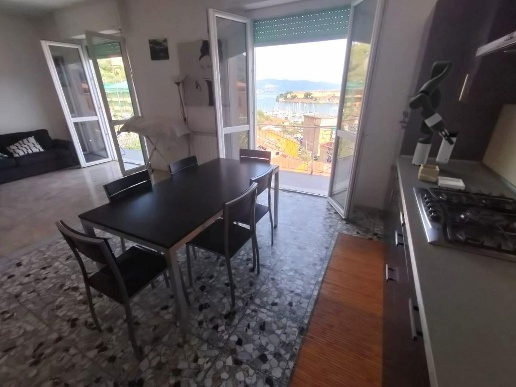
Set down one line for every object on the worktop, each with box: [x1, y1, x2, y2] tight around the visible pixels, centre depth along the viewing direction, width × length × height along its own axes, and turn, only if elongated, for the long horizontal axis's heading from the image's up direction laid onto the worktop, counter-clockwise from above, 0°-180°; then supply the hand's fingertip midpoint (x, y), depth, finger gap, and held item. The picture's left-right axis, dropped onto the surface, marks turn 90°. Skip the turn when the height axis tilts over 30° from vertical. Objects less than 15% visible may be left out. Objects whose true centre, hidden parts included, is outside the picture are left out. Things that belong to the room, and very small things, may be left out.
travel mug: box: [435, 130, 460, 165], centre depth 146 cm, size 6×7×20 cm
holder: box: [417, 164, 440, 183], centre depth 159 cm, size 11×10×8 cm
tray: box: [436, 175, 466, 191], centre depth 149 cm, size 14×13×2 cm
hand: (451, 143), depth 144 cm, fingers closed on travel mug, 6 cm apart
